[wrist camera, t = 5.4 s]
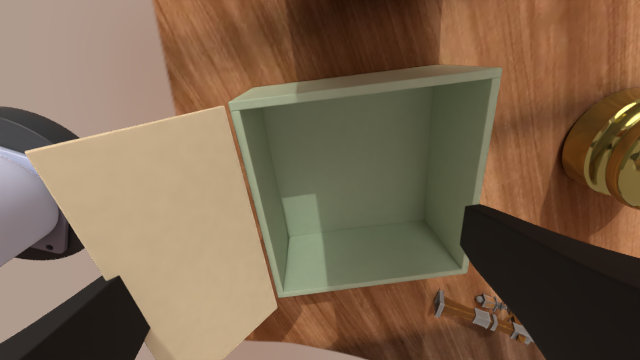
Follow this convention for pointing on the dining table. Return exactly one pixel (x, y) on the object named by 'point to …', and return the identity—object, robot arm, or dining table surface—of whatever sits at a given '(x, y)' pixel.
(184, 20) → the dining table surface
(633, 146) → the brass weight
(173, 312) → the door
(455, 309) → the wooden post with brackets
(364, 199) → the box
